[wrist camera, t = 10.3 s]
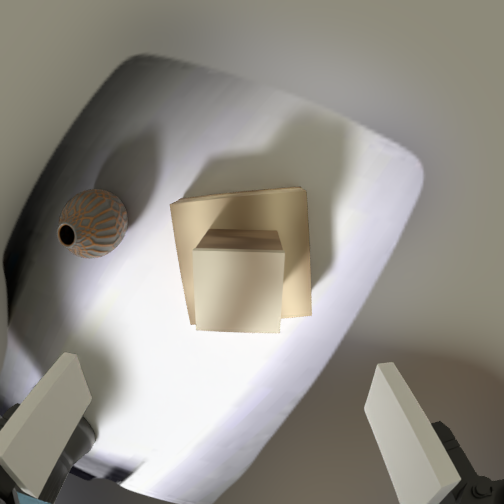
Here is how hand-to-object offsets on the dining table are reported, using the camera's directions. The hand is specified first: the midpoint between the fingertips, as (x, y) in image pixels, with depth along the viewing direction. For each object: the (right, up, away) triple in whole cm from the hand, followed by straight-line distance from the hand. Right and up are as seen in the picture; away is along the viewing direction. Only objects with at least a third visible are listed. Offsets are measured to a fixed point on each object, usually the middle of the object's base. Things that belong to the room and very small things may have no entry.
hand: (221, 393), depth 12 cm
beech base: (+1, +6, +21) cm, 22 cm away
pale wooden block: (0, +5, +16) cm, 17 cm away
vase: (-15, +10, +20) cm, 26 cm away
